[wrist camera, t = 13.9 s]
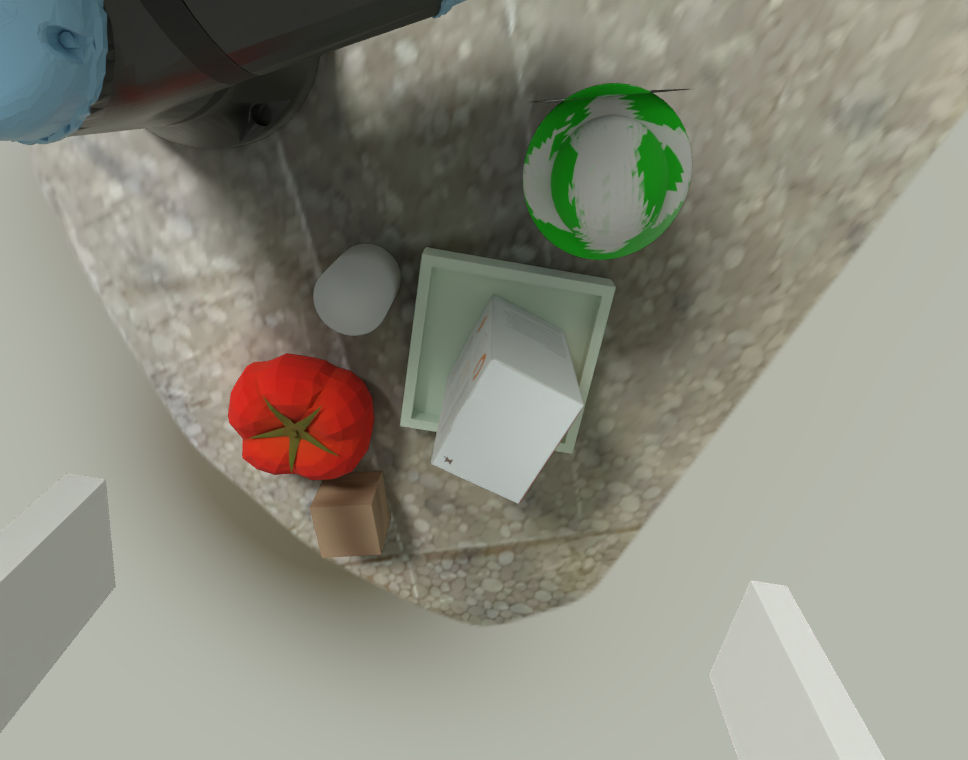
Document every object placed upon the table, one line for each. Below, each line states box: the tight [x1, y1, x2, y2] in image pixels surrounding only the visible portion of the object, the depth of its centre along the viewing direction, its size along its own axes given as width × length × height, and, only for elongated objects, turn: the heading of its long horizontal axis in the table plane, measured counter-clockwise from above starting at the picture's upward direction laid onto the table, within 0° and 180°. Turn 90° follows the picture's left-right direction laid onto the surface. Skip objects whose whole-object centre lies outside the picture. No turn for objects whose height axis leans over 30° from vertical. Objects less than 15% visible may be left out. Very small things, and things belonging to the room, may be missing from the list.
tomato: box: [228, 353, 374, 480], centre depth 50 cm, size 10×11×6 cm
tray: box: [400, 247, 616, 454], centre depth 49 cm, size 14×14×2 cm
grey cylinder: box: [313, 244, 401, 336], centre depth 46 cm, size 5×5×6 cm
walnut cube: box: [310, 471, 391, 558], centre depth 54 cm, size 5×5×5 cm
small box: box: [431, 295, 584, 503], centre depth 44 cm, size 8×6×13 cm
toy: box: [523, 83, 692, 260], centre depth 38 cm, size 9×9×15 cm
